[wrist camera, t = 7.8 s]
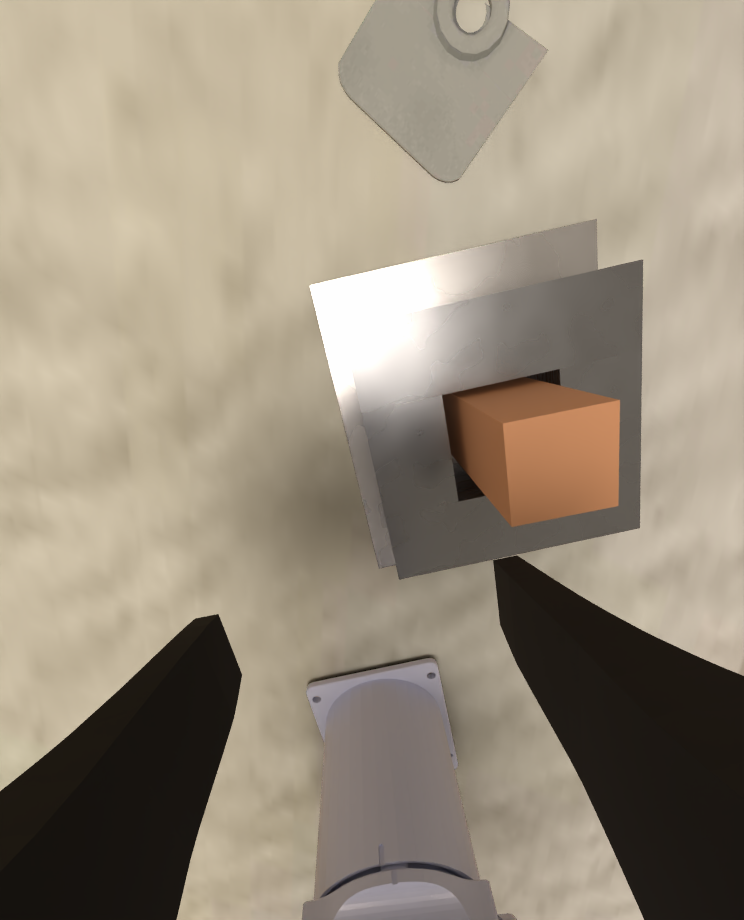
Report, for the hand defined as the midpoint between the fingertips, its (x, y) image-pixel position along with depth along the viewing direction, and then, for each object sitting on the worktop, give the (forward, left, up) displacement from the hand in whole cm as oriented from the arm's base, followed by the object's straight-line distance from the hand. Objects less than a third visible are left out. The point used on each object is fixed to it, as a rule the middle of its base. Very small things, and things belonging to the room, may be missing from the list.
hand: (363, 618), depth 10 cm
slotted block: (+2, -6, -10) cm, 12 cm away
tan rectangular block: (+2, -6, -9) cm, 11 cm away
